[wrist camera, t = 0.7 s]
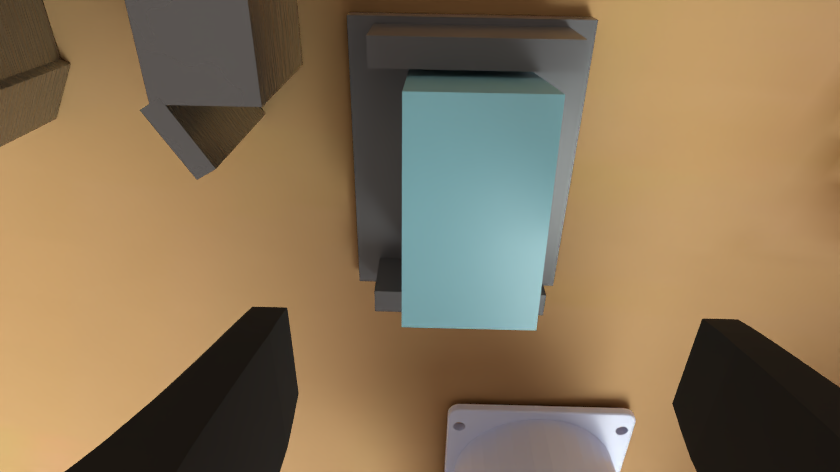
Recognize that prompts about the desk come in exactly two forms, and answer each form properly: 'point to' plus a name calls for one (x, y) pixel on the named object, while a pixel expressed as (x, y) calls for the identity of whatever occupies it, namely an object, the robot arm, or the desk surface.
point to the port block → (164, 69)
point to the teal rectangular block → (476, 196)
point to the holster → (448, 50)
